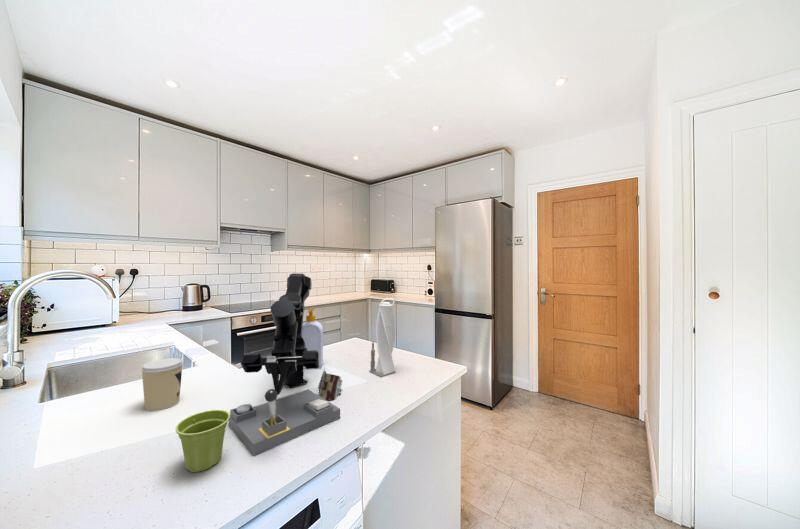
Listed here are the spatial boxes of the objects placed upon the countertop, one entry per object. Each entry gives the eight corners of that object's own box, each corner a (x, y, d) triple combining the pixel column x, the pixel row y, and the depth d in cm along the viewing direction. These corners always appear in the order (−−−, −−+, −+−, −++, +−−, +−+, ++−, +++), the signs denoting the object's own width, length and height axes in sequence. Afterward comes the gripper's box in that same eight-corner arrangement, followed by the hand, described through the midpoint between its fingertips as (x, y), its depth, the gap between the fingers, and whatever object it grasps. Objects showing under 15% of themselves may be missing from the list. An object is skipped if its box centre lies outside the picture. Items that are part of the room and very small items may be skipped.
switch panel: (228, 424, 76) (228, 407, 76) (308, 397, 91) (308, 382, 91) (253, 456, 64) (253, 435, 64) (340, 418, 79) (340, 401, 79)
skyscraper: (386, 366, 119) (387, 296, 118) (400, 372, 113) (401, 298, 112) (369, 371, 113) (370, 298, 113) (382, 378, 107) (383, 300, 107)
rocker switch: (308, 406, 79) (307, 402, 79) (318, 402, 81) (318, 398, 82) (317, 410, 76) (317, 405, 76) (328, 405, 78) (328, 401, 78)
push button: (234, 411, 75) (234, 407, 75) (247, 407, 77) (247, 403, 77) (238, 416, 73) (238, 411, 73) (251, 411, 75) (251, 407, 75)
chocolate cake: (340, 405, 88) (348, 367, 96) (316, 400, 86) (326, 362, 95) (333, 415, 94) (341, 378, 103) (311, 411, 93) (321, 374, 101)
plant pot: (168, 485, 55) (168, 438, 55) (182, 454, 64) (182, 414, 64) (226, 471, 59) (226, 427, 59) (232, 444, 68) (232, 406, 68)
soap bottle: (296, 370, 114) (297, 310, 114) (299, 363, 121) (300, 307, 121) (321, 369, 115) (321, 309, 115) (322, 362, 122) (323, 307, 122)
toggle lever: (269, 420, 70) (265, 386, 66) (281, 419, 71) (278, 386, 67) (267, 430, 68) (262, 396, 64) (279, 429, 68) (275, 395, 64)
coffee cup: (186, 404, 86) (186, 362, 86) (143, 416, 79) (143, 371, 79) (178, 394, 92) (179, 355, 92) (139, 404, 86) (139, 362, 85)
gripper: (320, 349, 91) (318, 402, 80) (254, 352, 87) (243, 408, 77) (319, 330, 83) (316, 386, 73) (247, 332, 79) (232, 392, 69)
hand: (277, 394), depth 73 cm, fingers closed
